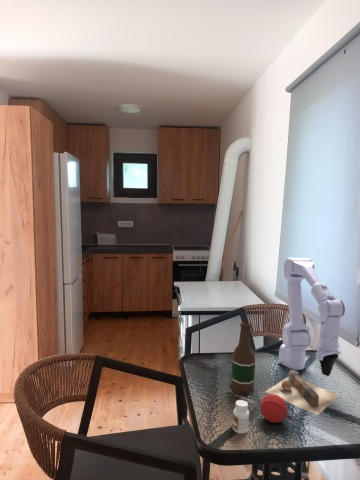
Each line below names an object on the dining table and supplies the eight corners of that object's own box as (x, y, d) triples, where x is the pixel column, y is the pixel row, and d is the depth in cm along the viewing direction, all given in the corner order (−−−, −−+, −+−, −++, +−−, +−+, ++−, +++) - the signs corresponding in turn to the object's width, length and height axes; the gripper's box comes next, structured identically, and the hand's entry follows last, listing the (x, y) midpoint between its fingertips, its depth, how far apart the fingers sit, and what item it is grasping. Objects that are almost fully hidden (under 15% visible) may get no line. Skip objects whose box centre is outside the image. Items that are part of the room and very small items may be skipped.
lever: (287, 379, 128) (287, 370, 127) (295, 378, 128) (296, 370, 128) (310, 406, 110) (311, 396, 110) (320, 406, 111) (320, 395, 110)
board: (264, 396, 119) (265, 381, 118) (289, 380, 131) (290, 366, 130) (317, 420, 106) (318, 404, 106) (339, 399, 118) (340, 385, 118)
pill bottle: (230, 424, 102) (232, 399, 101) (245, 424, 103) (247, 398, 102) (234, 434, 98) (236, 407, 97) (250, 434, 98) (251, 407, 97)
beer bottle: (255, 388, 123) (259, 321, 121) (250, 399, 116) (254, 328, 114) (234, 383, 126) (237, 317, 124) (227, 393, 119) (231, 324, 117)
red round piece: (274, 400, 100) (278, 383, 107) (252, 409, 104) (257, 392, 110) (291, 423, 100) (294, 405, 106) (269, 431, 103) (273, 413, 110)
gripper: (332, 344, 109) (329, 386, 111) (349, 333, 120) (346, 372, 121) (310, 337, 114) (307, 378, 116) (328, 327, 125) (325, 365, 126)
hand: (326, 374), depth 119 cm, fingers closed
